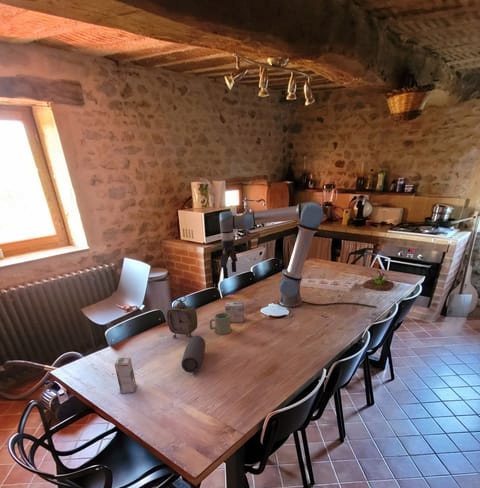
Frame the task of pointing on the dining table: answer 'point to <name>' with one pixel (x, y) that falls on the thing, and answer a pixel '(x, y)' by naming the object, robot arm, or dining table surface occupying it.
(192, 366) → the bluetooth speaker
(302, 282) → the holder
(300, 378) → the dining table surface
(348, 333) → the dining table surface
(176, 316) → the tabletop clock
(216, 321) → the mug
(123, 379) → the syrup box
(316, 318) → the dining table surface
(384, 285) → the plant
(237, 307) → the light bulb box
